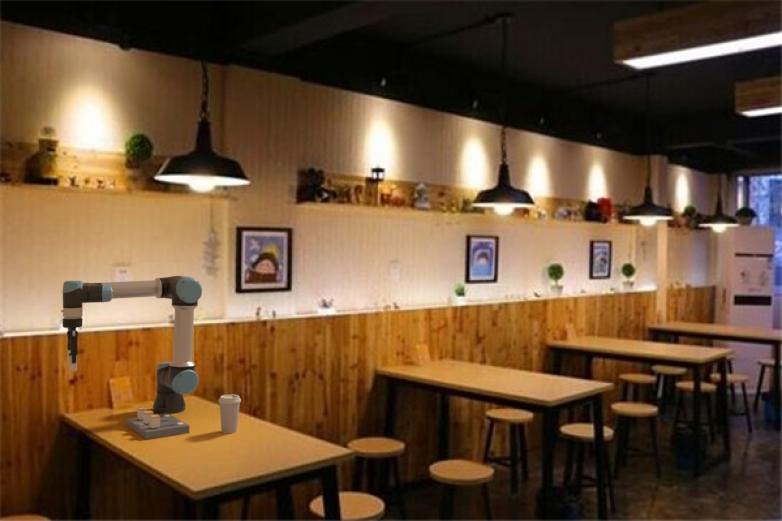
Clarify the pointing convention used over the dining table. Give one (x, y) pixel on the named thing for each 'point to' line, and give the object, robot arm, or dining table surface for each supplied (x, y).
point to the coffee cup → (229, 412)
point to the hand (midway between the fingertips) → (72, 368)
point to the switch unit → (167, 427)
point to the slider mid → (147, 416)
